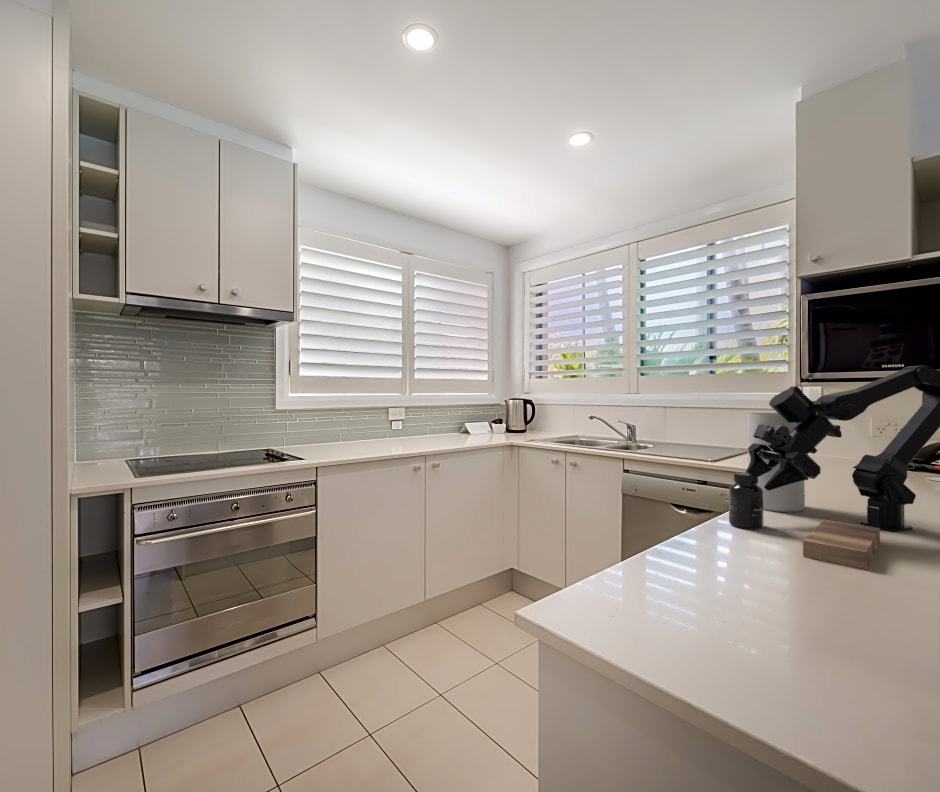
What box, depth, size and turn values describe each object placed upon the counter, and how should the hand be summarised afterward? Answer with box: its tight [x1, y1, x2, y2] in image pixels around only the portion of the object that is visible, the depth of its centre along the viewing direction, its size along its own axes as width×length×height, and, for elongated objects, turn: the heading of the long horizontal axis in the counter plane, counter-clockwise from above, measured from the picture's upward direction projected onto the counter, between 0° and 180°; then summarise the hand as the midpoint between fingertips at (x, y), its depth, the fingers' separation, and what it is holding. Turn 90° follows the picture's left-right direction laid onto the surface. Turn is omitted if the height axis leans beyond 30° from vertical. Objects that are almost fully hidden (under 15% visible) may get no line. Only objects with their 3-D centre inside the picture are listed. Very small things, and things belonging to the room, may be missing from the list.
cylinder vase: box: [747, 412, 806, 513], centre depth 122 cm, size 12×12×25 cm
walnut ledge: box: [802, 519, 881, 570], centre depth 88 cm, size 20×9×3 cm, turn 133°
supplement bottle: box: [728, 472, 764, 530], centre depth 105 cm, size 7×7×12 cm
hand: (754, 484), depth 105 cm, fingers open, 9 cm apart
